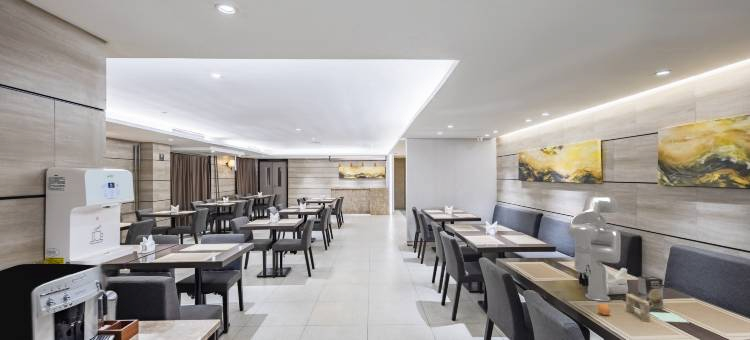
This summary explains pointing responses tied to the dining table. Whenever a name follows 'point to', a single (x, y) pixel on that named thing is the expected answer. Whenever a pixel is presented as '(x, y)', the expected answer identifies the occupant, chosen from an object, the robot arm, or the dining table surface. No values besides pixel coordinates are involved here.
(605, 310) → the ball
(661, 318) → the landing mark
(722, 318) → the dining table surface
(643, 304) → the bridge
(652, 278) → the coffee box
